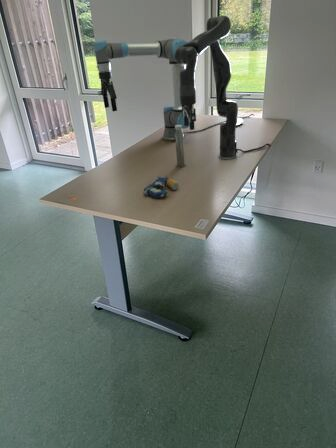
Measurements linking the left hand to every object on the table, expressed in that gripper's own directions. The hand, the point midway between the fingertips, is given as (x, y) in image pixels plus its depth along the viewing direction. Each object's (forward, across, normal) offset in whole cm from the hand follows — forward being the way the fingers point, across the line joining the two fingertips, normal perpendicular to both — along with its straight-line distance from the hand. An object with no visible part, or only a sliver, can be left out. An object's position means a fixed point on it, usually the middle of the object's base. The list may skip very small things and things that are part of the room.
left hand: (110, 109), depth 204 cm
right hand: (+3, +58, +20) cm, 62 cm away
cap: (+8, +38, +25) cm, 46 cm away
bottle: (+31, +38, +25) cm, 55 cm away
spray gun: (+31, +62, 0) cm, 69 cm away
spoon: (+31, -4, +98) cm, 103 cm away
